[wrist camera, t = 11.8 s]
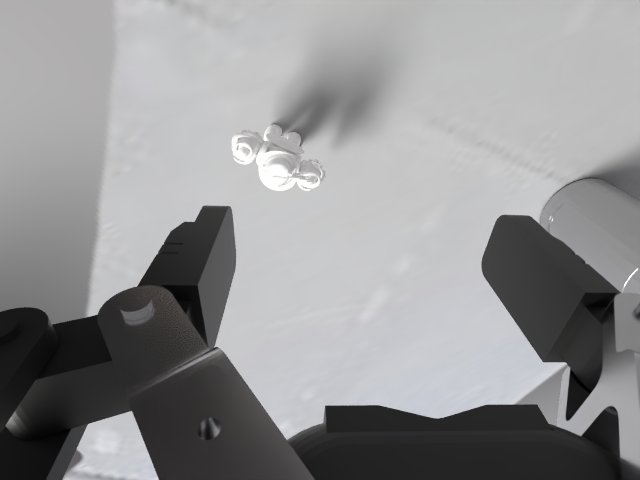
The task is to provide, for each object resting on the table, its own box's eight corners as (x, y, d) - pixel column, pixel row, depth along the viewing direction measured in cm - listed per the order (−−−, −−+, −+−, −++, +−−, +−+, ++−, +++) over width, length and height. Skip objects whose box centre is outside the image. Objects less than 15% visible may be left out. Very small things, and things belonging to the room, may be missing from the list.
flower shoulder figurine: (326, 138, 39) (334, 182, 29) (311, 169, 41) (314, 219, 31) (249, 102, 37) (229, 136, 27) (237, 136, 39) (214, 179, 29)
